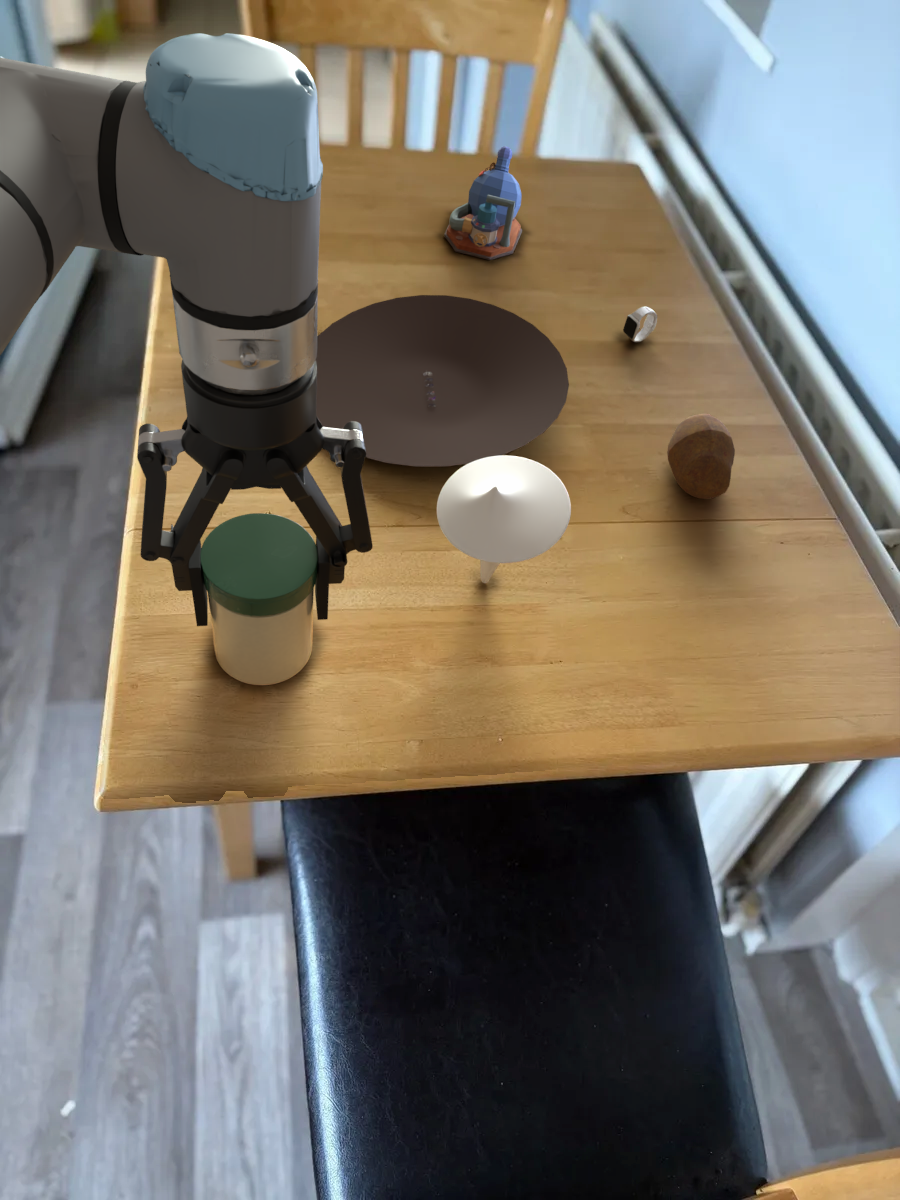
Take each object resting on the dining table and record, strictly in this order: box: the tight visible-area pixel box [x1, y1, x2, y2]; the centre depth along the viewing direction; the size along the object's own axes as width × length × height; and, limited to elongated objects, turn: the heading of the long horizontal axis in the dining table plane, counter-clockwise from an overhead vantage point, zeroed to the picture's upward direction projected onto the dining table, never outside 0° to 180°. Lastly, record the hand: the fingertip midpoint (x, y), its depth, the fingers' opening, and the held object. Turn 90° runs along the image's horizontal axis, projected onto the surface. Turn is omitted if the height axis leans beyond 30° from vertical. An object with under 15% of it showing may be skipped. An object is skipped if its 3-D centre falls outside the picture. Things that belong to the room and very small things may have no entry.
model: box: [443, 145, 523, 261], centre depth 113 cm, size 12×9×9 cm
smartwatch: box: [622, 306, 658, 343], centre depth 104 cm, size 4×2×4 cm, turn 121°
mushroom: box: [436, 455, 572, 584], centre depth 74 cm, size 10×11×12 cm
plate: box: [315, 294, 570, 467], centre depth 93 cm, size 28×28×4 cm
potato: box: [666, 413, 736, 500], centre depth 89 cm, size 7×10×6 cm
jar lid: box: [201, 512, 318, 616], centre depth 64 cm, size 8×8×2 cm
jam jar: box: [207, 587, 315, 686], centre depth 68 cm, size 8×8×10 cm
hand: (262, 608), depth 68 cm, fingers closed on jar lid, 8 cm apart
